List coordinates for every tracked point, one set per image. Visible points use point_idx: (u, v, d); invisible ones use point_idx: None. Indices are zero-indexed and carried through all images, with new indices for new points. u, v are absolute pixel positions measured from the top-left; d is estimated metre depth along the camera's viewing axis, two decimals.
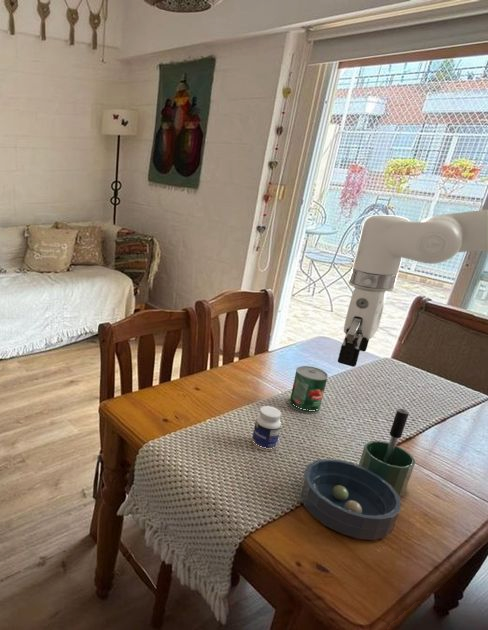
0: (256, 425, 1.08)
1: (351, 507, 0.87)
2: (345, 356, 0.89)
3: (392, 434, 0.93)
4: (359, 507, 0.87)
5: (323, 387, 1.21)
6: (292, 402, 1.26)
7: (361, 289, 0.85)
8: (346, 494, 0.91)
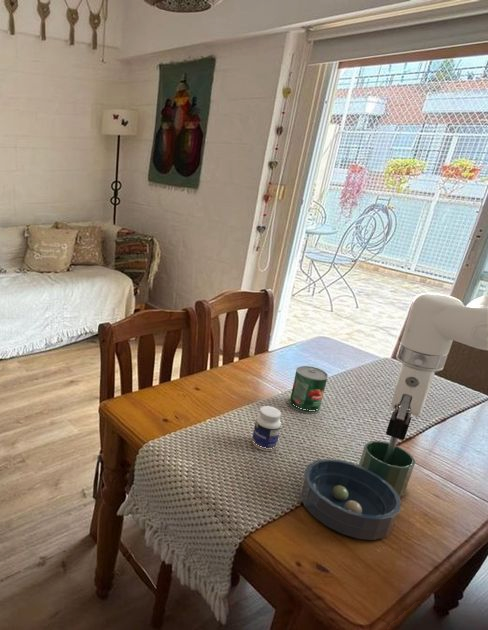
0: (256, 425, 1.08)
1: (351, 507, 0.87)
2: (394, 429, 0.91)
3: None
4: (359, 507, 0.87)
5: (323, 387, 1.21)
6: (292, 402, 1.26)
7: (410, 367, 0.85)
8: (346, 494, 0.91)
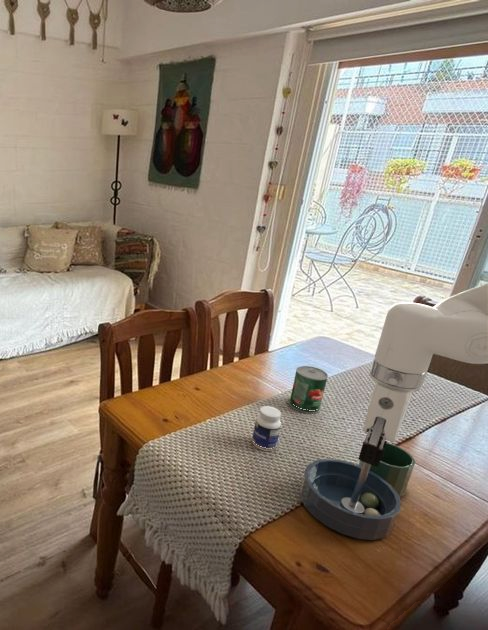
0: (256, 425, 1.08)
1: None
2: (367, 455, 0.81)
3: None
4: None
5: (323, 387, 1.21)
6: (292, 402, 1.26)
7: (384, 387, 0.75)
8: (365, 503, 0.89)
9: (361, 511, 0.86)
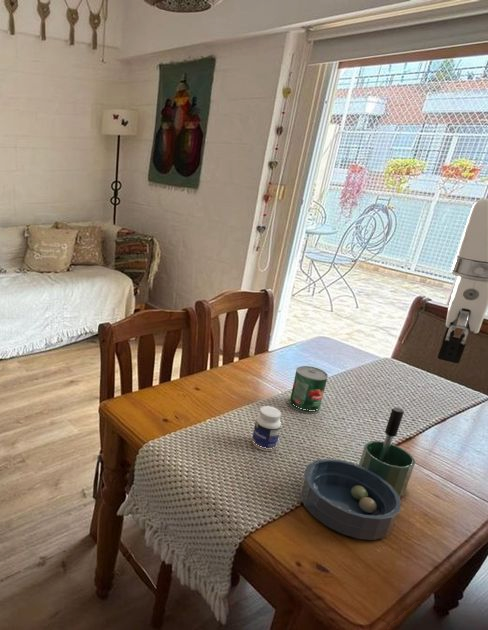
0: (256, 425, 1.08)
1: (361, 503, 0.89)
2: (448, 351, 0.82)
3: (387, 432, 0.93)
4: (368, 509, 0.88)
5: (323, 387, 1.21)
6: (292, 402, 1.26)
7: (469, 279, 0.79)
8: (351, 490, 0.93)
9: None
